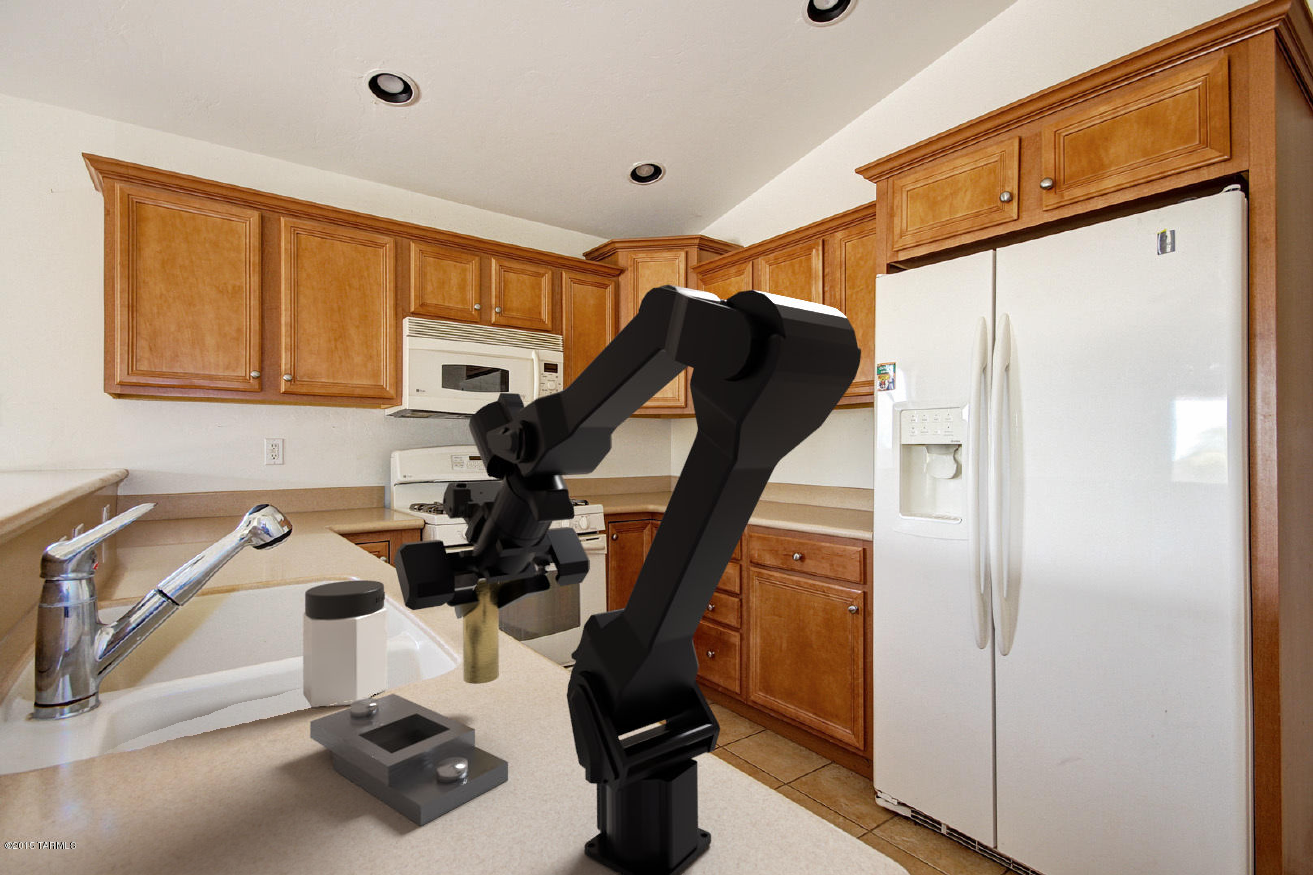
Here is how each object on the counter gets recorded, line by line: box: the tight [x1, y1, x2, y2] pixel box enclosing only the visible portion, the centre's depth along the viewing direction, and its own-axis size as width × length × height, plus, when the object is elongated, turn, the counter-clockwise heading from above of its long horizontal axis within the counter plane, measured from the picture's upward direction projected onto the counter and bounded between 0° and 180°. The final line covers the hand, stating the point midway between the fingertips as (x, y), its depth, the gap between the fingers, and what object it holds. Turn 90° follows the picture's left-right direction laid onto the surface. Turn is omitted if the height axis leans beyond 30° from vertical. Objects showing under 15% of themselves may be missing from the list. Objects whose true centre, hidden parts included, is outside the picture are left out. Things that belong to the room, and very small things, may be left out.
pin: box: [462, 580, 500, 685], centre depth 66 cm, size 4×4×13 cm
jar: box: [302, 579, 388, 708], centre depth 72 cm, size 9×8×12 cm
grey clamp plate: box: [309, 693, 509, 827], centre depth 55 cm, size 18×8×4 cm, turn 52°
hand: (475, 611), depth 67 cm, fingers closed on pin, 4 cm apart
